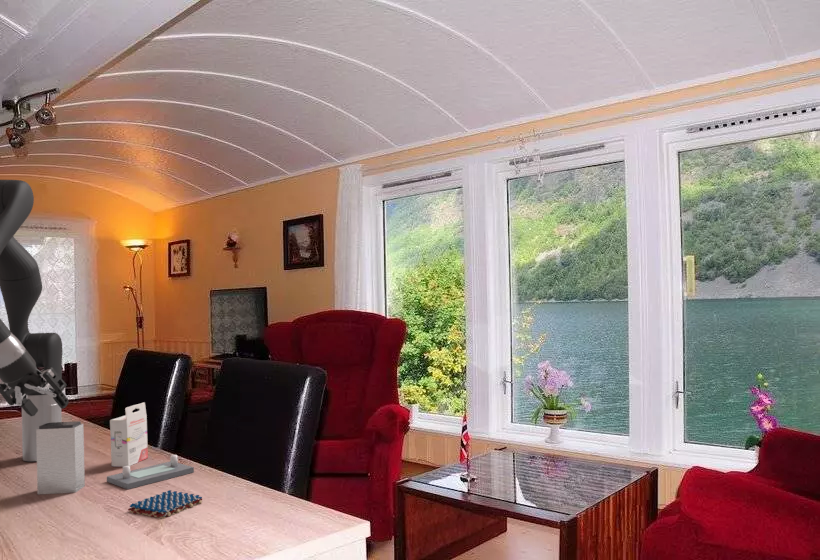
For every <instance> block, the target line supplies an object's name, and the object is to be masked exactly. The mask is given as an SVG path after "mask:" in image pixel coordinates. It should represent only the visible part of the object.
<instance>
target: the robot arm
mask: <svg viewBox="0 0 820 560" xmlns="http://www.w3.org/2000/svg"><path fill="white" fill-rule="evenodd" d="M34 197H35V196H34V192H33V189H32V187H31V185H30V184H29V183H28V182H26V181H24V180H20V179H0V292H1V295H2V299H3V304H4V309H5V311H6V316H7V320H8V321H7V322H8V327H7V325H6V324H5V323H4V321H3V320H2V318H0V380H1V381H0V395H1V396H2V397H3V399H4V400H5V401H6V403H7V404H8V405H9V406H11V407H12V406H14V405H16V406H19V407H21V438H22V439H21V444H22V445H21V446H22V447H21V448H22V461H24V462H37V443H36V429H39V426H41V425H44V424H46V423H53V422H63V419H62V417H63V416H62V410H64V409H65V408H66V407H68V404H69V401H70V400H69V399H68V397H67V396H66V395H65V393H64V392H63V391H64V390H65V389H66V387H67V383H66V382H65V380H63V378H62V377H63V375H62V373H63V371H62V368H63V366H62V365H63V341H62V338H61V336H60V334H58V333H57V332H33V333H31V332H30V330H29V329H30V328H29V317H30V315H31V313H32V311H33V309H34V307H35V306H36V304H37V302H38V300H39V299H40V296H41V293H42V291H43V282H42V277H41V272H40V267H39V264H38V263H37V261H36V259H35V258H34V257H33V255H32V254H31V253H30V252H29V251H28V250H27V249H26V248H25V247H24V246H23V245H22V244H21V243H20V242H19V241H18V239H16V238H15V234H16V233H17V232H18V230H19V229H20V228H21V227H22V225H23V224H24V223H25V221H27V219H28V217H29V216H30V214H31V212H32V210H33V207H34V204H35V203H34V202H35V199H34ZM38 368H43V370H42V371H41V369H38Z"/></svg>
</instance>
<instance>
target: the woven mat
mask: <svg viewBox="0 0 820 560" xmlns="http://www.w3.org/2000/svg"><path fill="white" fill-rule="evenodd" d="M202 503H203V496H200V494H196V495H195V494H194V493H190V494H188V492H184V493H183V492H182V491H180V492H178V491H177V490H173V491H172V490H171V489H169V490H167V491H162V492H161V493H159V494H155V495H154V496H150V497H148V498H147V497H146V498H144V499H142V500H138V501H136V502H135V503H131V504H130V505H129V508H128V509H127V510H128V512H129V513H131V514H137V515H142V516H147V517H152V518H158V519H167V517H171V516H175V515H176V514H179V513H180V512H184V511H185V510H188V509H189V508H193V507H197V506H198V505H201V504H202Z"/></svg>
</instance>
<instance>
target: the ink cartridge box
mask: <svg viewBox="0 0 820 560" xmlns="http://www.w3.org/2000/svg"><path fill="white" fill-rule="evenodd" d="M146 407H147V406H146V402H145V401H144V402H141V403H138V404H133V405H130V406H127V407H125V409H124V410H125V411H124V413H125V415H122V416H119V417H116V418H112V419H110V420H109V428H110V429H109V430H110V431H109V432H110V435H109V436H110V453H111V454H110V455H111V456H110V457H111V458H110V459H111V467H119V468H120V467H121V468H122V467H123V466H130V467H131V466H133V465H135V464H138V463H140V462H143V461H144V460H146V459H148V457H149V455H148V454H149V452H148V451H149V449H148V446H149V445H148V419H147V418H148V417H147V416H148V415H147V409H146ZM136 409H137V411H134V410H136ZM133 411H134V412H133Z"/></svg>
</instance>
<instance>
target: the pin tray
mask: <svg viewBox="0 0 820 560" xmlns="http://www.w3.org/2000/svg"><path fill="white" fill-rule="evenodd" d="M169 460H170V461H167V462H162V463H158V464H153V465H150V466H149V465H148V466H145V467H141V468H138V469H137V468H136V469H133V470H131V466H123V467H121V468H122V472H120V473H116V474H111V475H107V476H106V483H110V484H112V485H115V486H117V487H121V488H122V489H124V490H131V489H134V488H138V487H142V486H147V485H151V484H155V483H158V482H161V481H166V480H170V479H173V478H174V479H175V478H177V477H181V475H182V476H184V475H188V474H192V473H195V467H193V466H192V465H191V466H190V465H188V464H187V465H186V464H184V463H181V462H178V455H177V454H171V455H170V459H169Z"/></svg>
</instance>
